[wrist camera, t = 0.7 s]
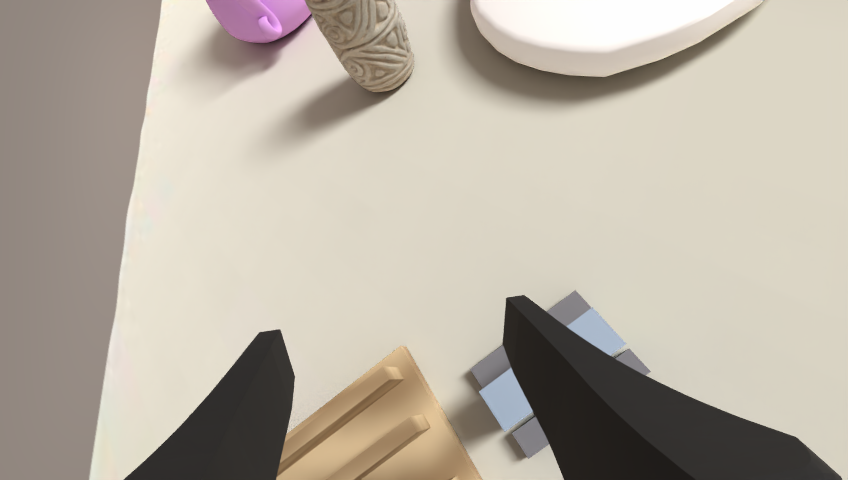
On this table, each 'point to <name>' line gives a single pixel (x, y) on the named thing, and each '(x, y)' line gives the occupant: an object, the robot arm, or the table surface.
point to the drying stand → (498, 363)
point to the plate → (600, 30)
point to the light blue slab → (506, 390)
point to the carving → (366, 40)
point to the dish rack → (378, 432)
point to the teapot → (259, 18)
